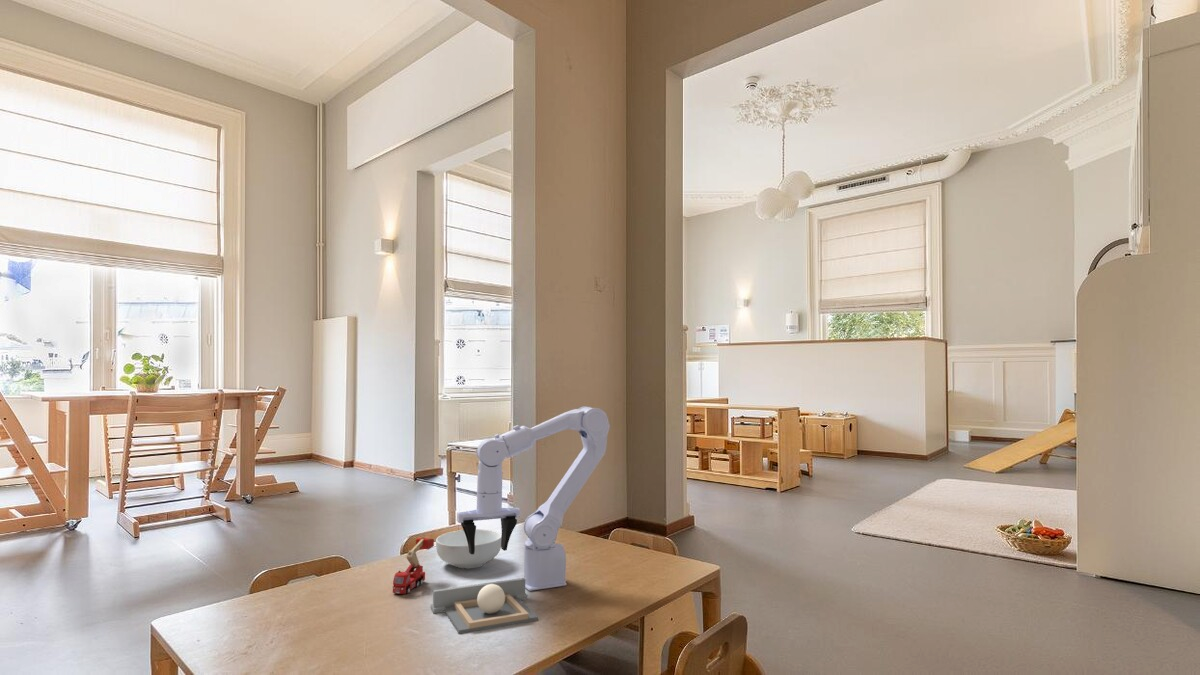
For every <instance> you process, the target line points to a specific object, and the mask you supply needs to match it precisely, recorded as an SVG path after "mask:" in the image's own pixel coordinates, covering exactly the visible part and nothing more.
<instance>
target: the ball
mask: <svg viewBox="0 0 1200 675" xmlns="http://www.w3.org/2000/svg"><path fill="white" fill-rule="evenodd" d="M504 602H505V594H504V591H503V590H502V588H501V587H500V586H498V585H496V584H488V585H486V586H484V587H483V588H482V589H481V590H480V592H479V594H478V597H477V603H478V606H479V608H480V609H481V610H482V611H483V612H485V613H488V614H492V613H496V612H498V611H499V610H500V609H501V608H502V606H503V605H504Z"/></svg>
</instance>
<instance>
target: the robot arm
mask: <svg viewBox="0 0 1200 675" xmlns="http://www.w3.org/2000/svg"><path fill="white" fill-rule="evenodd" d="M512 428H513V429H511V430H509V431H506V432H504V433H502V434H499V433H496V434H494V435H493V436H494V439H493V438H486V439H484V440H482V441H481V442H480V444H479V445H478V447H477V450H476V452H475V453H476V456H477V458H478V459H479V460H478V465H477V468H478V471H477V479H476V480H477V481H476V482H477V485H476V509H474V510H466V511H462V512H461V511H460V512H456V522H457V523H459V524H460V525H461V527H462V530H464V532H465V535H466V538H467V542H468V547H469V553H470V554H474V552H475V531H476V529H477V525H475V522H477V521H486V520H488V521H489V520H498V519H499V520H500V524H501V525H500V526H501V535H502V537H501V549H500V550H502V551H503V552H504V551H507V550H508V546H509V543H510V540H511V536H512V535H513V534H512V533H513V531H514V530H515V527H516V525H517V524H518V518H521V509H520V508H519V507H503V506H502V504H503V474H504V473H503V462H504V460H505V459H509V458H512V457H514V456H517V455H519V454H522V453H523V452H526V451H528V450H530V449H532V448H533V447H534V446H535V443H536V441H538V440H540V439H544V438H545V437H549V436H552V435H554V434H556V433H560V432H562V431H565V430H572V431H578V433H579V435H580V438H581V443H582V449H581V450H580V452H579V453H578V455H577V456H576V458H575V459H574V461H573V462H572V464H571V465H570V466H569V468H568V470H567V471H566V472H565V474H564V475H563V477H562V478H561V480H560V481H559V483H558V484H557V486H556V487H555V488H554V490H552V493H551V494H550V496H549V498H548V499H547V500H546V501H545V502H543V503H542V504H541V505H540V506H539V507H538V508H537V509H536V510H535V511H534V512H533V513H532V514H530V515H528V516H527V517H526V519H525V521H524V523H523V531H524V533H525V535H526V536H527V538H526V540H525V542H524V556H523V557H524V558H523V578H525V579H526V580H525V590H527V591H530V592H531V591H537V590H544V589H550V588H551V589H552V588H556V587H557V588H559V587H564V586H567V582H566V572H567V571H566V570H567V569H566V566H567V564H566V562H567V558H566V557H567V556H566V554H567V553H566V550H565V547H564V545H563V544H562V543H556V541H557V538H558V533H559V529H560V528H561V526H562V524H563V520H564V519H563V518H564V515H565V513H566V512H567V511H568V509H569V508H570V506H571V504H572V503H573V501H574V500H575V499H576V497H577V496H578V494H579V493H580V491H581V490H582V488H583V487H584V485H585V484H586V482H587V481H588V480H589V478H590V476H591V475H592V473H593V472H594V470H595V469H596V468H597V467H598V465H599V463H600V462H601V460H602V458H603V457H604V456H605V455H606V451H607V444H608V442H607V441H608V435H609V431H610V428H611V424H610V421H609V419H608V415H607V413H606V412H605V411H604V410H603V409H601V408H598V407H592V406H588V405H587V406H586V405H585V406H581V407H579V408H574V409H570V410H568V411H565V412H562V413H561V414H558V415H556V416H555V417H552V418H550V419H547V420H545V421H543V422H541V423H538V424H537V425H535V426H533V427H528V426H526V425H521V426H520V425H519V424H517V425H514V426H513V427H512Z"/></svg>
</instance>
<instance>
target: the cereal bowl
mask: <svg viewBox="0 0 1200 675" xmlns="http://www.w3.org/2000/svg"><path fill="white" fill-rule="evenodd" d="M501 537H502V533H500V532H498V531H495V530H489V529H480V528H479V529H477V528H476V531H475V552H474V554H470V553H469V547H468V542H467V538H466V535H465V532H464V530H463V529H460V530H453V531H449V532H446V533H442V534H440V535H439V536H437V537H436V539H435V547H436V553H437V555H438V557H439V558H440V560H442V561H443V562H444V563H446V564H449V565H452V566H454V567H455V568H457V567H458V569H464V568H466V569H476V568H481V567H482V566H484V565H485V564H486V563H487V562H489V561H491V560H493V559H494V558H496V557H497V555H498V554H499V553H500V551H501V550H502V549H501Z"/></svg>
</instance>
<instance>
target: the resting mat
mask: <svg viewBox="0 0 1200 675" xmlns="http://www.w3.org/2000/svg"><path fill="white" fill-rule="evenodd" d="M443 613H445V616H448V617H447V618H448V619H450V620H449V621H450V622H452V623H451V624H452V626H453V627H454V629H455V630H456V633H457V634H458V635H460V634H465V633H470V632H476V631H477V632H478V631H482V630H488V629H494V628H499V627H505V626H511V625H516V624H517V625H518V624H524V623H528V622H529V623H530V622H534V621H538V618H539V617H538V616H537V614H535V613H534V611H532V610H531V609H530V608H529V606H527V605H526V603H525V602H523V601H522V600H520V599H519V598H513V597H512V596H511V595H510V594H507V595H505V602H504V605H503V606H502V608H501V609H500V610H499V611H498V612H496V613H492V614H488V613H485V612H483V611H482V610H481V609H480V608H479V606H478V603H477V599H474V600H467V601H460V602H454V607H453V608H446V609H444V612H443Z"/></svg>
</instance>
